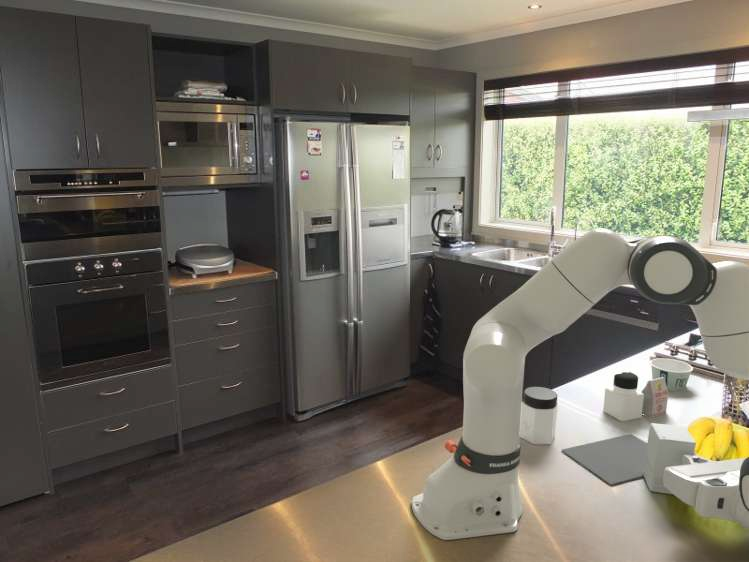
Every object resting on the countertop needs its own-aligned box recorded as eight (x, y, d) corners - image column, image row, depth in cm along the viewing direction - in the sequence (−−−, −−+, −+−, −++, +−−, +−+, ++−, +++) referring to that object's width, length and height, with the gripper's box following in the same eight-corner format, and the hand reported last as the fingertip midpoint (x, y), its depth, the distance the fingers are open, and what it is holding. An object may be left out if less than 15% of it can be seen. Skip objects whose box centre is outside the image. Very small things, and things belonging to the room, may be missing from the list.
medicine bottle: (641, 418, 159) (646, 376, 157) (621, 422, 157) (626, 380, 154) (622, 407, 166) (626, 367, 163) (602, 411, 163) (606, 370, 160)
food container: (658, 374, 190) (660, 355, 189) (697, 385, 182) (700, 366, 180) (640, 383, 183) (642, 363, 182) (680, 395, 174) (682, 375, 173)
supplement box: (687, 496, 123) (697, 443, 120) (649, 491, 125) (658, 438, 121) (676, 476, 130) (686, 425, 127) (641, 472, 132) (649, 421, 128)
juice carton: (638, 412, 163) (642, 378, 160) (654, 407, 166) (658, 374, 164) (650, 417, 160) (654, 383, 157) (665, 412, 163) (670, 378, 161)
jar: (512, 433, 150) (515, 389, 147) (535, 426, 154) (538, 383, 151) (538, 448, 142) (542, 403, 140) (562, 440, 146) (566, 396, 144)
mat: (610, 485, 127) (610, 484, 127) (561, 451, 141) (561, 449, 141) (684, 466, 135) (684, 464, 135) (630, 435, 150) (630, 433, 149)
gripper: (793, 474, 108) (733, 438, 121) (698, 486, 104) (646, 448, 117) (787, 505, 109) (729, 466, 122) (693, 518, 105) (643, 476, 118)
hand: (688, 457), depth 120 cm, fingers closed
